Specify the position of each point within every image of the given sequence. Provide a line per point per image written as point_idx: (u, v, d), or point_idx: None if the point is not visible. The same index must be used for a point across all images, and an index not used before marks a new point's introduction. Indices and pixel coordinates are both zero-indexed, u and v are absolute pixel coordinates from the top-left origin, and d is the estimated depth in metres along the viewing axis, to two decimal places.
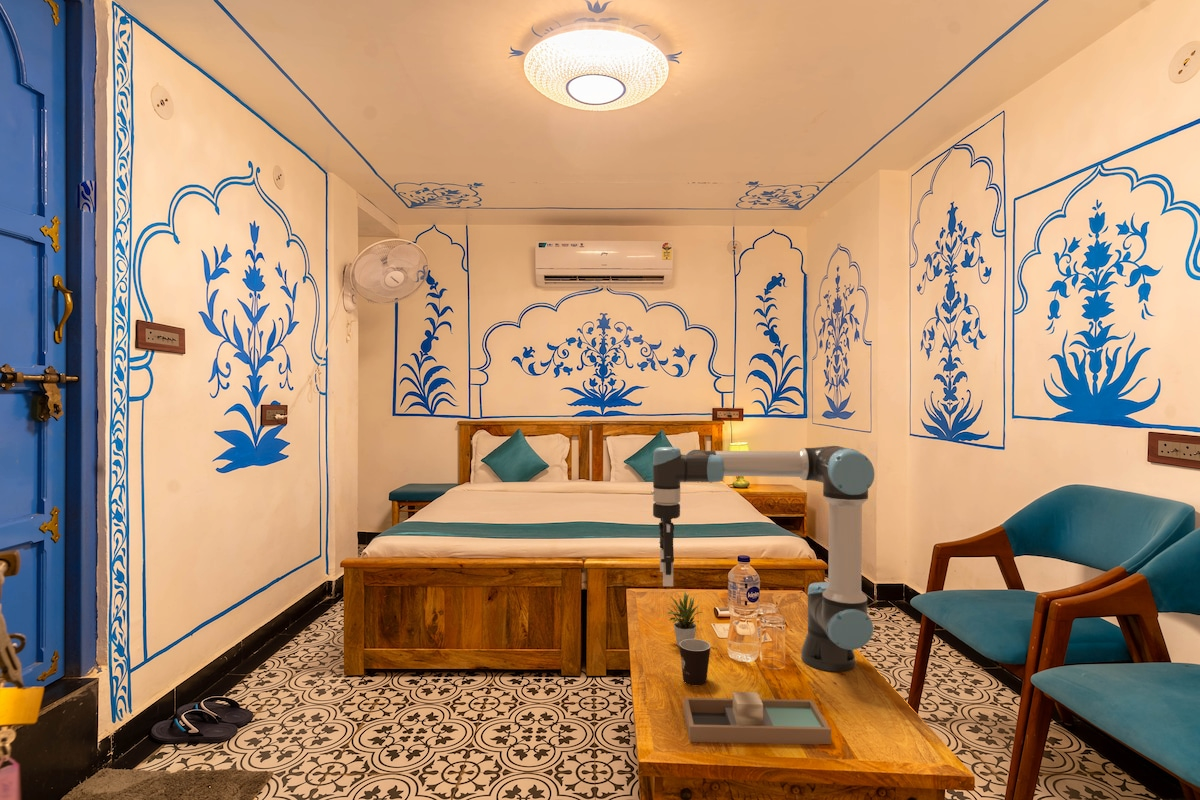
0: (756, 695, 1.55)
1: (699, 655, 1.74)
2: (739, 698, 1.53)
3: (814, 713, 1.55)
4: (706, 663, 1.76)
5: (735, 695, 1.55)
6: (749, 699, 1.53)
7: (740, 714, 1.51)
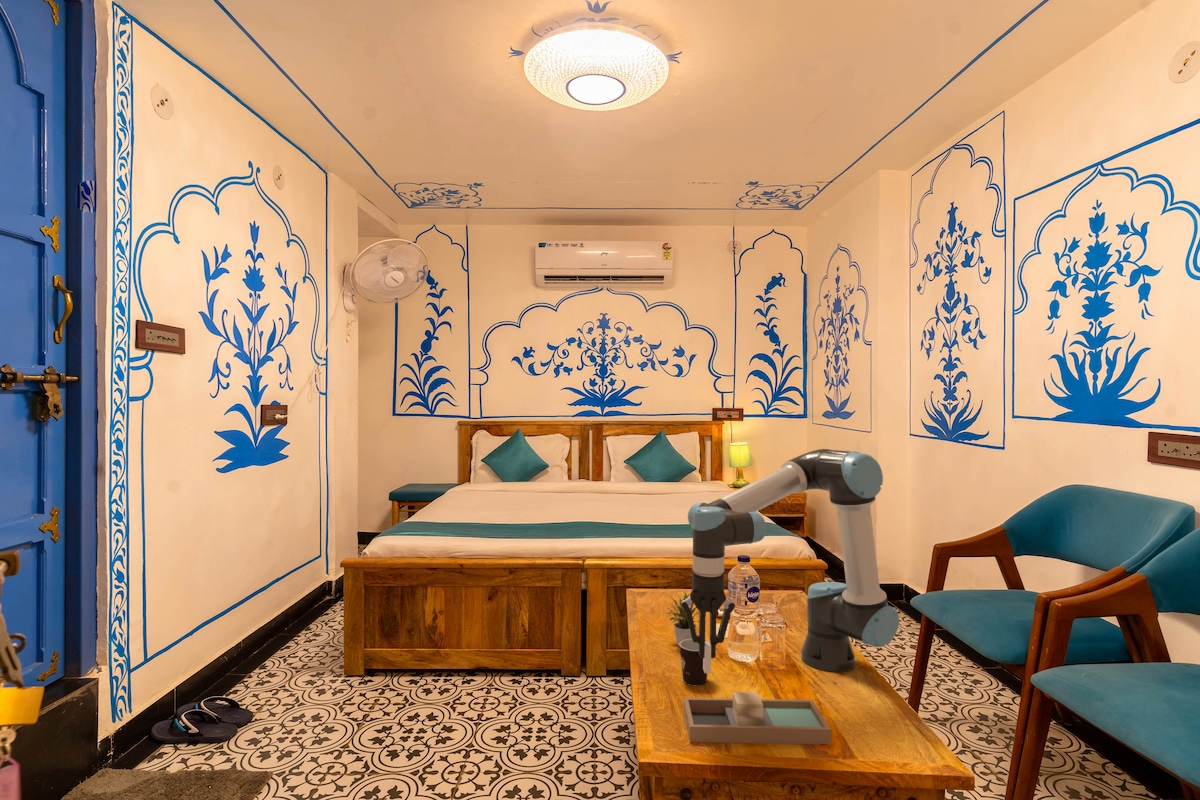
0: (756, 695, 1.55)
1: None
2: (739, 698, 1.53)
3: (814, 713, 1.55)
4: None
5: (735, 695, 1.55)
6: (749, 699, 1.53)
7: (740, 714, 1.51)
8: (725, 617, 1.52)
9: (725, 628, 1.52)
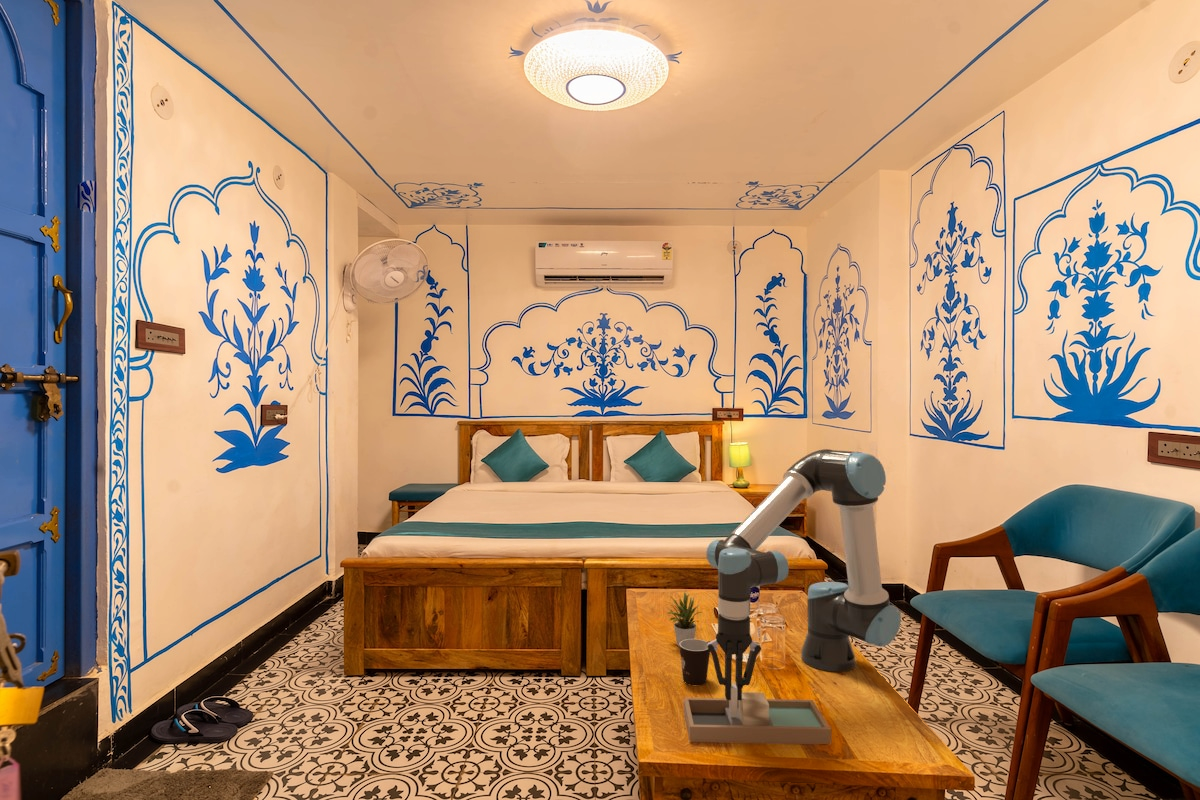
0: (762, 695, 1.55)
1: (699, 655, 1.74)
2: (745, 698, 1.53)
3: (814, 713, 1.55)
4: (706, 663, 1.76)
5: None
6: (755, 699, 1.53)
7: (746, 714, 1.51)
8: (751, 659, 1.52)
9: (751, 670, 1.52)
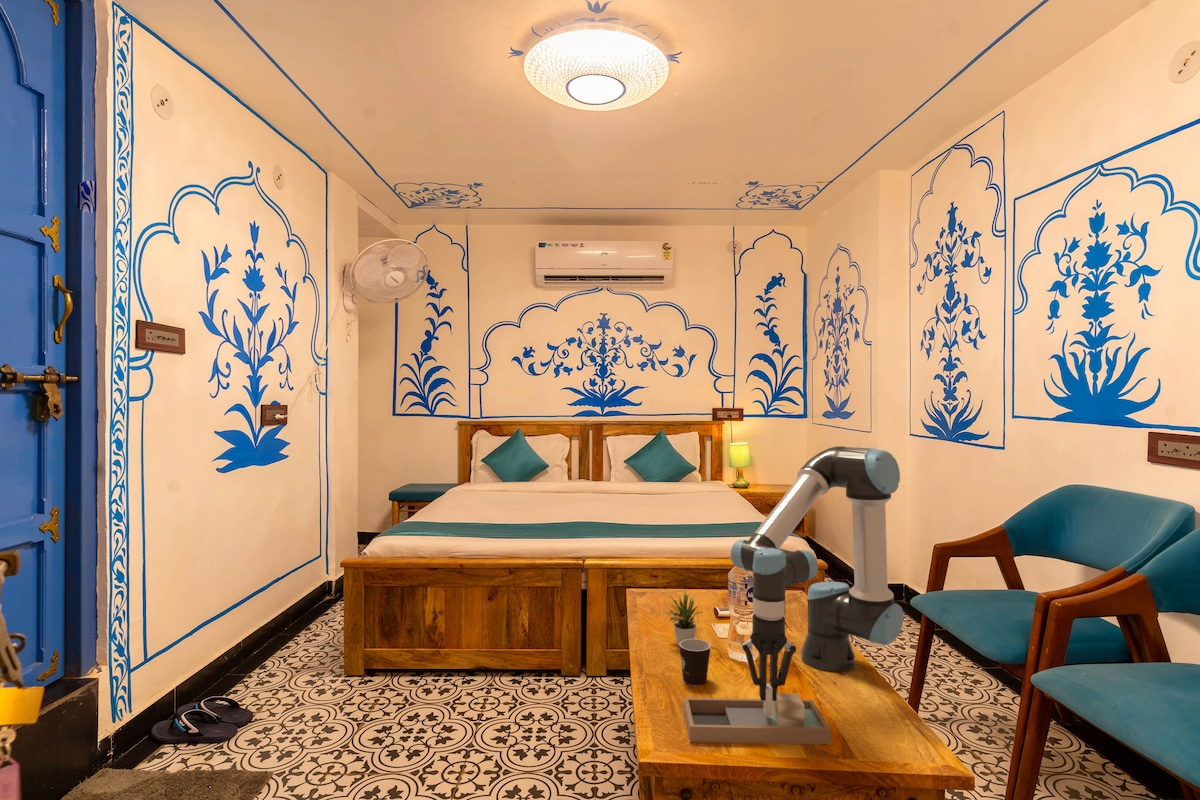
0: (796, 696, 1.55)
1: (699, 655, 1.74)
2: (779, 699, 1.53)
3: (814, 713, 1.55)
4: (706, 663, 1.76)
5: None
6: (789, 700, 1.53)
7: (782, 715, 1.50)
8: (786, 660, 1.52)
9: (786, 671, 1.52)
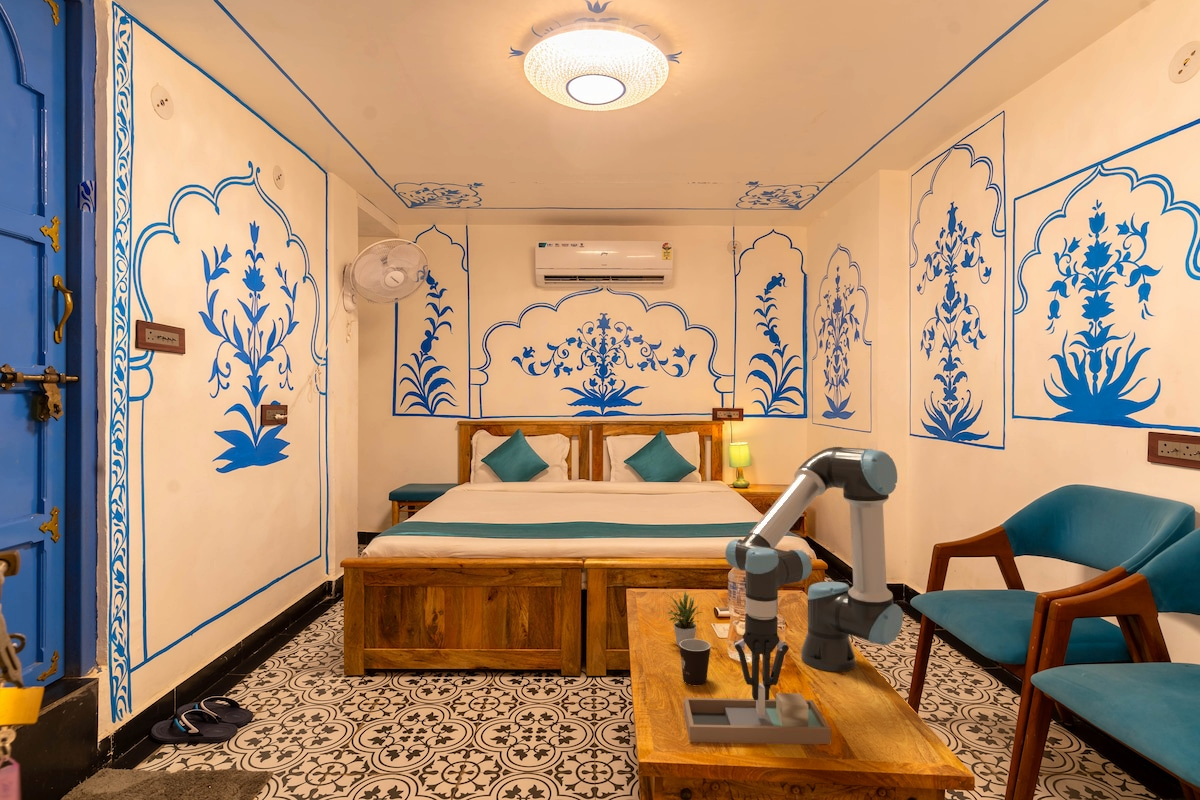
0: (800, 696, 1.54)
1: (699, 655, 1.74)
2: (783, 699, 1.53)
3: (814, 713, 1.55)
4: (706, 663, 1.76)
5: (779, 696, 1.55)
6: (793, 700, 1.53)
7: (786, 715, 1.50)
8: (779, 659, 1.52)
9: (779, 670, 1.52)
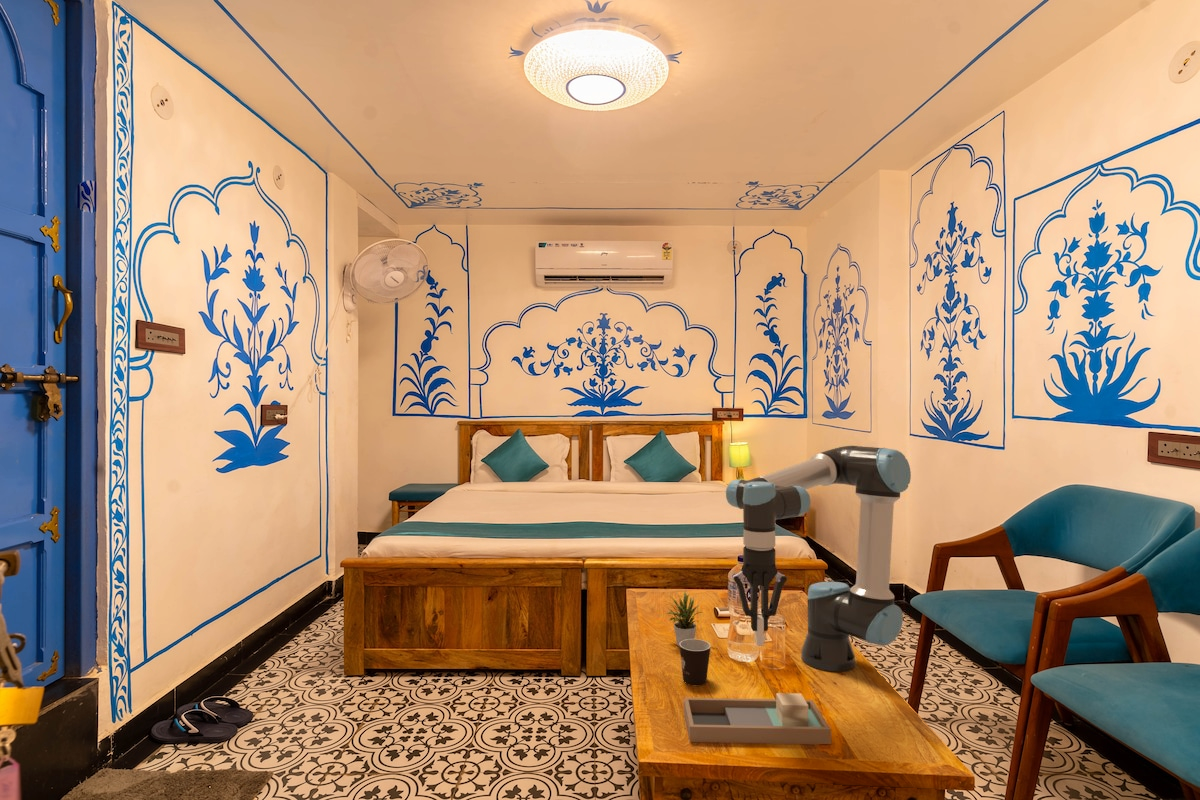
0: (800, 696, 1.54)
1: (699, 655, 1.74)
2: (783, 699, 1.53)
3: (814, 713, 1.55)
4: (706, 663, 1.76)
5: (779, 696, 1.55)
6: (793, 700, 1.53)
7: (786, 715, 1.50)
8: (777, 590, 1.54)
9: (777, 601, 1.54)
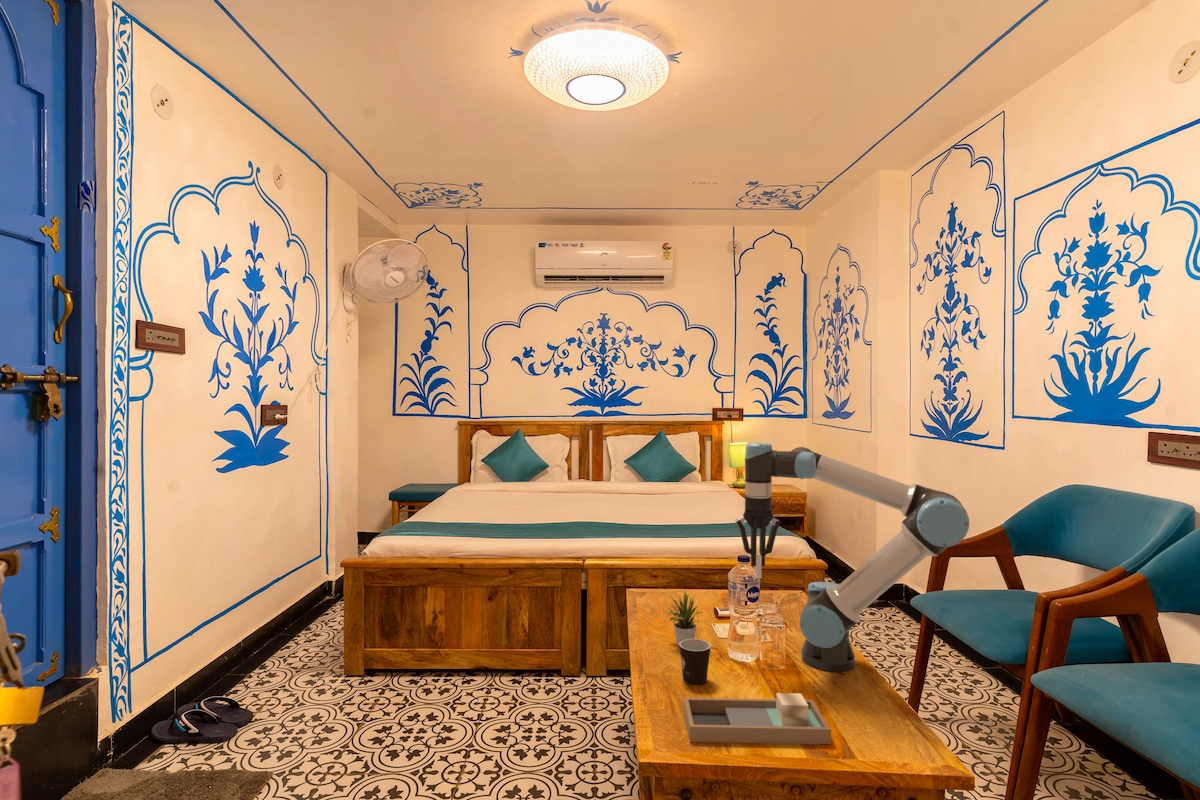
0: (800, 696, 1.54)
1: (699, 655, 1.74)
2: (783, 699, 1.53)
3: (814, 713, 1.55)
4: (706, 663, 1.76)
5: (779, 696, 1.55)
6: (793, 700, 1.53)
7: (786, 715, 1.50)
8: (773, 532, 1.86)
9: (773, 541, 1.86)
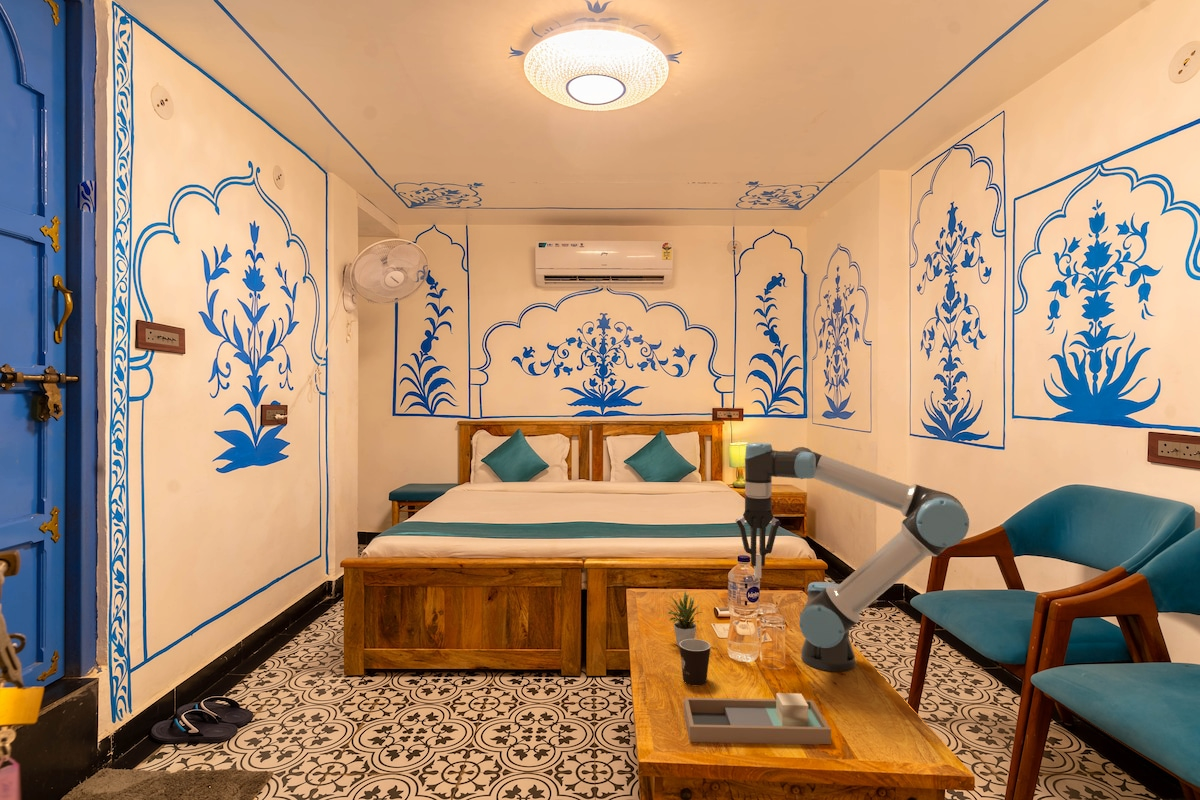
0: (800, 696, 1.54)
1: (699, 655, 1.74)
2: (783, 699, 1.53)
3: (814, 713, 1.55)
4: (706, 663, 1.76)
5: (779, 696, 1.55)
6: (793, 700, 1.53)
7: (786, 715, 1.50)
8: (773, 532, 1.86)
9: (773, 541, 1.86)
